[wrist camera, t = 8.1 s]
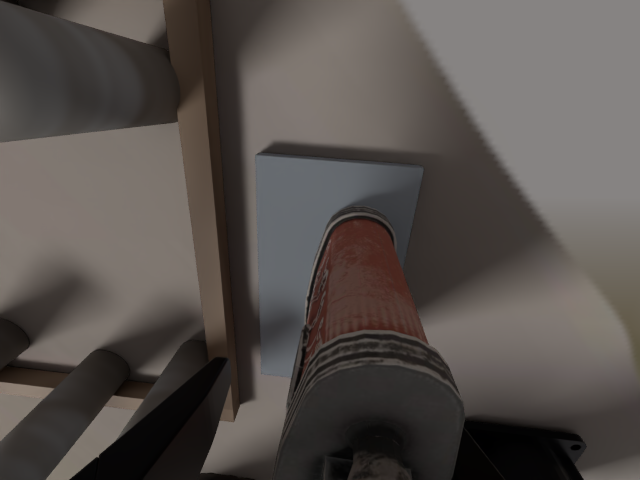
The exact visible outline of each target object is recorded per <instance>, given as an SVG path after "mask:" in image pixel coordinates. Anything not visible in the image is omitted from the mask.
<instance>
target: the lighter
mask: <svg viewBox="0 0 640 480" xmlns="http://www.w3.org/2000/svg"><path fill="white" fill-rule="evenodd" d="M396 249H397V241H396V236H395V232H394V229H393V227H392V224H391V223H390V221H389V220H388V219H387V217H386V216H385V215H384V214H382V213H381V212H379V211H378V210H377V209H374V208H370V207H367V206H350V207H347V208H343V209H341V210H339V211H338V212H336V213H335V214H334V215H332V217H331V218H330V220H329V221H328V223H327V225H326V228H325V230H324V233H323V236H322V238H321V241H320V244H319V247H318V249H317V252H316V255H315V258H314V263H313V267H312V272H311V276H310V281H309V285H308V290H307V295H306V302H305V324H304V326H303V327H302V331H301V336H300V340H299V345H298V349H297V353H296V358H295V362H294V367H293V372H292V378H291V383H290V389H289V394H288V399H287V405H286V419H285V423H284V427H283V431H282V436H281V440H280V444H279V448H278V453H277V457H276V463H275V468H274V473H273V479H272V480H451V478H452V476H453V473H454V468H455V463H456V459H457V454H458V449H459V445H460V440H461V435H462V431H463V426H464V421H465V415H464V406H463V401H462V399H461V396H460V394H459V391H458V389H457V386H456V384H455V381H454V379H453V376H452V374H451V371H450V369H449V366H448V364H447V363H446V362H445V360H444V359H443V358H442V356H441V355H440V354H439V352H438V351H437V350H436V349H435V348H433V347H431V346H430V345H429V344H428V341H427V338H426V336H425V333H424V330H423V327H422V324H421V322H420V319H419V316H418V313H417V310H416V307H415V305H414V302H413V299H412V296H411V293H410V291H409V288H408V285H407V282H406V279H405V277H404V274H403V271H402V268H401V265H400V263H399V260H398V257H397V254H396Z"/></svg>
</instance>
